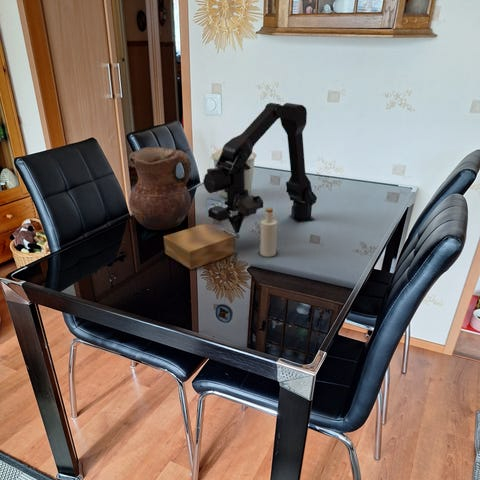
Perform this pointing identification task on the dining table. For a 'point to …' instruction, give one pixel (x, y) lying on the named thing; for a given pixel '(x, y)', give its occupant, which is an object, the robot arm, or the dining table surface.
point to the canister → (247, 172)
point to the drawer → (232, 235)
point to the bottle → (268, 234)
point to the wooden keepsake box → (199, 245)
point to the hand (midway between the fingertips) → (236, 232)
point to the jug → (160, 188)
